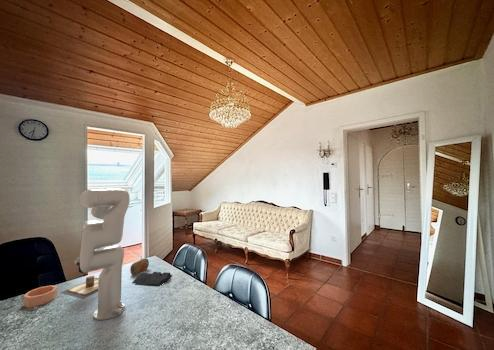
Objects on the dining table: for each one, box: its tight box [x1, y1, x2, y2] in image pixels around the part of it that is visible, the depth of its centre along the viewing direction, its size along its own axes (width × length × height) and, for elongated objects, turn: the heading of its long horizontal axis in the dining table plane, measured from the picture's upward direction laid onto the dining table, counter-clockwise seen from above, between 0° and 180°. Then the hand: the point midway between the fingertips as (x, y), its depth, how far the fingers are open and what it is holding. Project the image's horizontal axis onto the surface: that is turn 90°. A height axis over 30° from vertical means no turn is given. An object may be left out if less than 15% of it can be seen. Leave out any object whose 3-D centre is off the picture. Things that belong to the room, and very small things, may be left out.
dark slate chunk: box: [131, 271, 173, 287], centre depth 135 cm, size 15×22×5 cm
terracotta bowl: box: [22, 285, 58, 308], centre depth 112 cm, size 12×12×5 cm
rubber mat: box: [59, 277, 99, 300], centre depth 125 cm, size 20×20×1 cm
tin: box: [129, 258, 150, 276], centre depth 147 cm, size 15×3×8 cm, turn 164°
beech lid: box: [67, 275, 98, 296], centre depth 125 cm, size 15×15×6 cm
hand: (90, 269), depth 126 cm, fingers open, 9 cm apart
